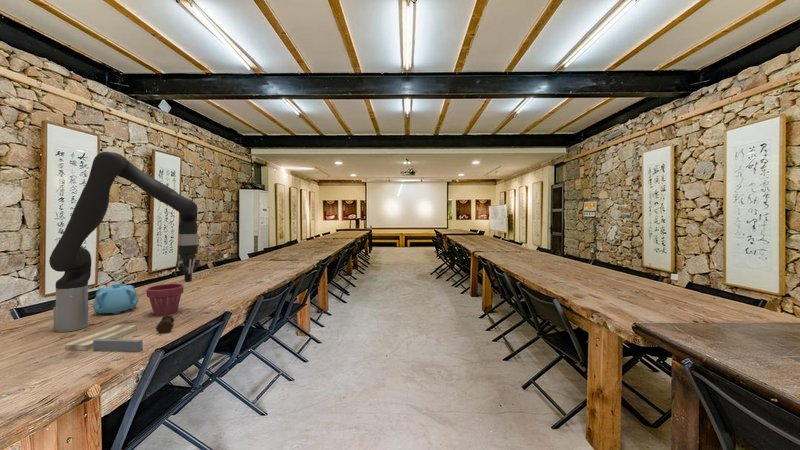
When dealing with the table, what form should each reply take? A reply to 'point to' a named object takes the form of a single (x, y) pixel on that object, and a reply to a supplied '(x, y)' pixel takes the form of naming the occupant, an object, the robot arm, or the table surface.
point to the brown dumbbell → (165, 325)
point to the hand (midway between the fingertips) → (188, 281)
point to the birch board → (100, 337)
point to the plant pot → (165, 298)
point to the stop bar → (117, 345)
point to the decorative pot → (115, 299)
